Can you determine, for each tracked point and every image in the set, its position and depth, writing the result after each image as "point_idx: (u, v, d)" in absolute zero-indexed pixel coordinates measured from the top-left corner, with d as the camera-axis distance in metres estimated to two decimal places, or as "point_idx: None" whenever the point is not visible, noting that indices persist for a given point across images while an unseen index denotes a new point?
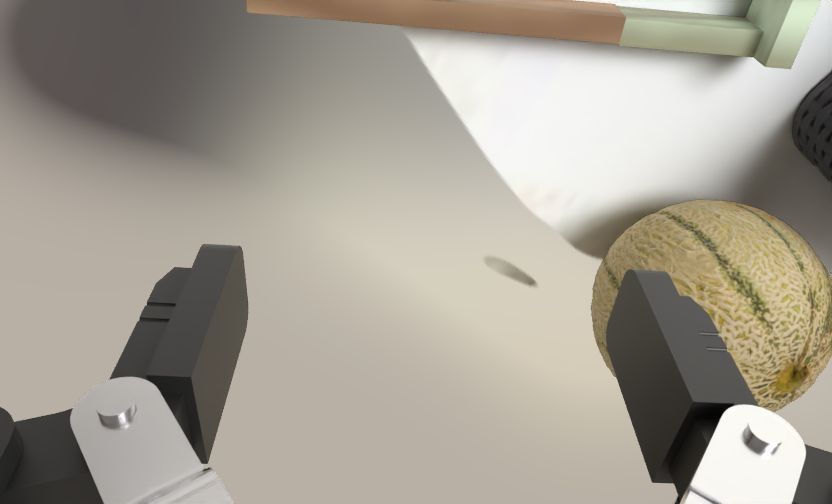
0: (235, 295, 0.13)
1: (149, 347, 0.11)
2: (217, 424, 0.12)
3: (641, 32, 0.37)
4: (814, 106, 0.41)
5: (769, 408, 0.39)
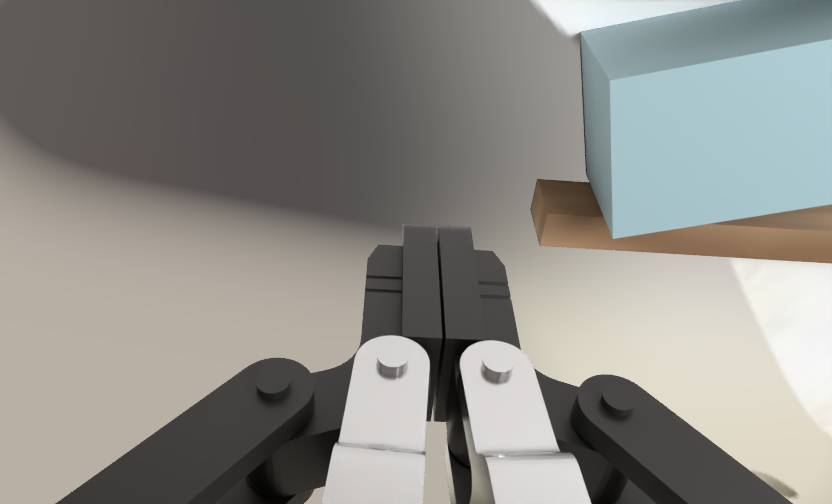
0: None
1: (385, 313, 0.12)
2: None
3: None
4: None
5: None
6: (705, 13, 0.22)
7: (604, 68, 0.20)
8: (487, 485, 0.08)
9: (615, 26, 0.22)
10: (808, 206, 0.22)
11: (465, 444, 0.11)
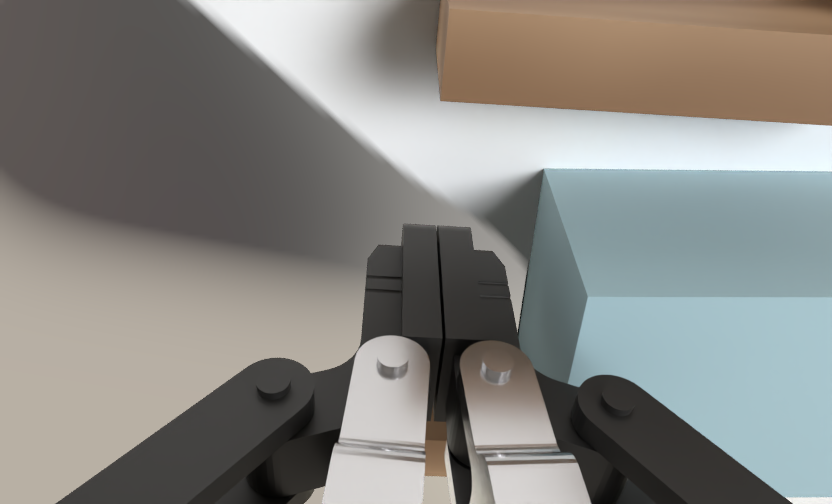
0: None
1: (385, 314, 0.12)
2: None
3: None
4: None
5: None
6: (734, 184, 0.14)
7: (578, 264, 0.12)
8: (487, 485, 0.08)
9: (598, 174, 0.14)
10: (830, 495, 0.15)
11: (465, 444, 0.11)
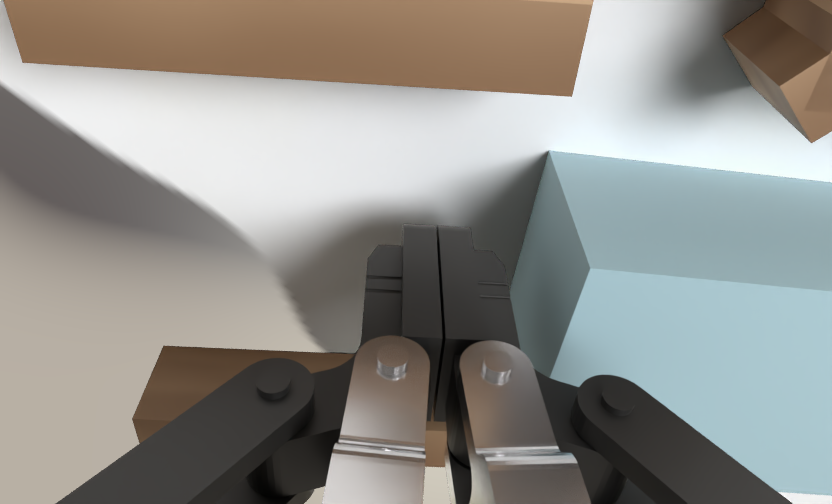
0: None
1: (385, 314, 0.12)
2: None
3: None
4: None
5: None
6: (730, 180, 0.14)
7: (581, 237, 0.12)
8: (487, 485, 0.08)
9: (600, 157, 0.14)
10: (790, 491, 0.15)
11: (465, 444, 0.11)
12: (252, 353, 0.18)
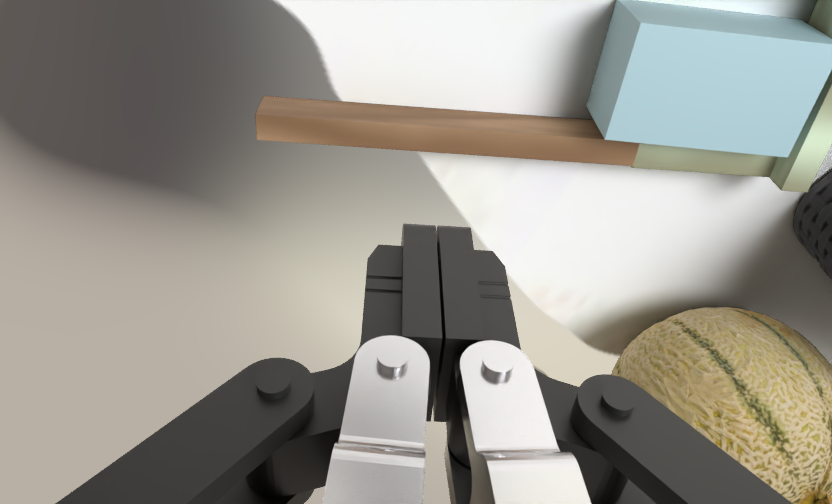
0: None
1: (385, 314, 0.12)
2: None
3: (655, 155, 0.36)
4: (816, 201, 0.40)
5: None
6: (695, 9, 0.34)
7: (636, 17, 0.31)
8: (487, 485, 0.08)
9: (639, 1, 0.34)
10: (726, 150, 0.34)
11: (465, 444, 0.11)
12: (307, 100, 0.37)
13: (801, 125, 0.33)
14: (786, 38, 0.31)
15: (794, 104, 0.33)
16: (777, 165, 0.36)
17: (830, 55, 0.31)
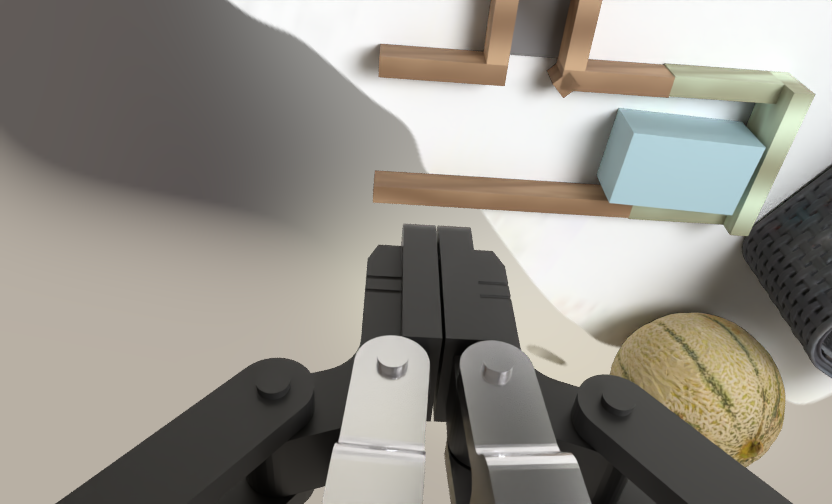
0: None
1: (385, 314, 0.12)
2: None
3: (644, 211, 0.53)
4: (757, 236, 0.56)
5: None
6: (671, 116, 0.50)
7: (631, 127, 0.47)
8: (487, 485, 0.08)
9: (634, 110, 0.50)
10: (690, 210, 0.51)
11: (465, 444, 0.11)
12: (404, 173, 0.53)
13: (740, 195, 0.50)
14: (728, 142, 0.47)
15: (735, 182, 0.49)
16: (728, 217, 0.53)
17: (757, 153, 0.48)
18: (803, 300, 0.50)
